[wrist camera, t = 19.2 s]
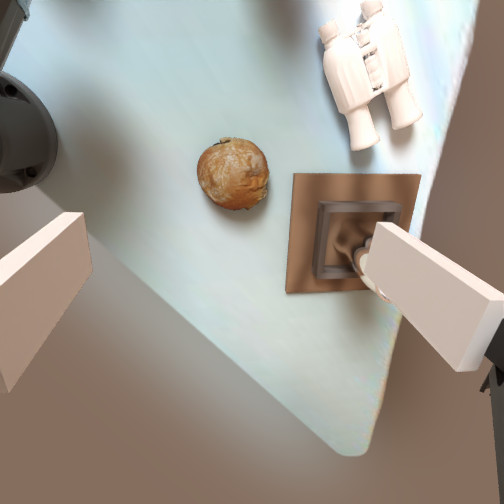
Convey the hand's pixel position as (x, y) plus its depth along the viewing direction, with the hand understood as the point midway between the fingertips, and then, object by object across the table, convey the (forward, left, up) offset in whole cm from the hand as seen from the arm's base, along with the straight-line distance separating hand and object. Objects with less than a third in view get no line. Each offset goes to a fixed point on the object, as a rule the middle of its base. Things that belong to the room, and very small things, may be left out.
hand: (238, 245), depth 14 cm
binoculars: (+20, +11, -34) cm, 41 cm away
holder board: (+21, -12, -33) cm, 41 cm away
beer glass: (+21, -12, -33) cm, 40 cm away
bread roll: (+2, -2, -34) cm, 34 cm away
